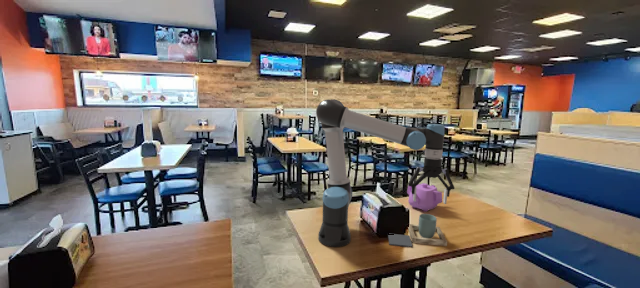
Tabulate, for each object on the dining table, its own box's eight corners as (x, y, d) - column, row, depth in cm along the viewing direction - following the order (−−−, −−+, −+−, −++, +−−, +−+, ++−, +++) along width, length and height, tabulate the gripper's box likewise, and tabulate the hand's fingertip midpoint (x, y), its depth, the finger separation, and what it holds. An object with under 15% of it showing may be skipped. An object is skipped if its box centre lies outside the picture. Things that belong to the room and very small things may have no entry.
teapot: (433, 202, 179) (435, 179, 177) (444, 213, 162) (446, 188, 159) (403, 201, 180) (404, 179, 178) (411, 212, 162) (413, 188, 160)
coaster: (389, 244, 125) (389, 243, 125) (388, 234, 135) (388, 233, 135) (412, 247, 124) (412, 246, 124) (409, 236, 133) (409, 235, 133)
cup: (436, 241, 129) (438, 221, 128) (418, 239, 131) (420, 219, 129) (433, 233, 137) (434, 214, 135) (416, 232, 138) (418, 213, 137)
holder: (412, 242, 128) (412, 238, 128) (408, 228, 142) (408, 224, 142) (446, 246, 125) (447, 241, 125) (439, 231, 140) (439, 227, 139)
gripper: (406, 157, 126) (402, 202, 130) (464, 161, 122) (460, 207, 125) (404, 154, 134) (401, 196, 137) (459, 157, 129) (455, 201, 133)
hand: (429, 201), depth 131 cm, fingers open, 13 cm apart
